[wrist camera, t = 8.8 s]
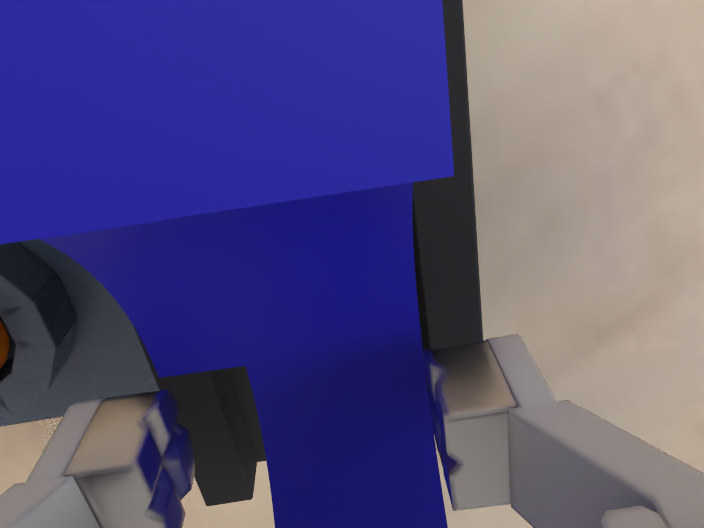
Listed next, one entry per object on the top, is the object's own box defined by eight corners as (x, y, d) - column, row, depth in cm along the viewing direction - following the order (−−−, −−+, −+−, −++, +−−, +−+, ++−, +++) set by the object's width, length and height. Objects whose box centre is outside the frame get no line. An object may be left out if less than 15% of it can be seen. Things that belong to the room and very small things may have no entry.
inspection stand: (403, -122, 16) (452, -172, 10) (448, 340, 23) (491, 462, 18) (89, -66, 16) (-35, -81, 10) (232, 375, 24) (206, 507, 18)
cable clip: (60, -13, 8) (-426, 33, 3) (369, -65, 8) (434, -118, 3) (251, 531, 14) (199, 883, 9) (436, 508, 14) (500, 854, 8)
